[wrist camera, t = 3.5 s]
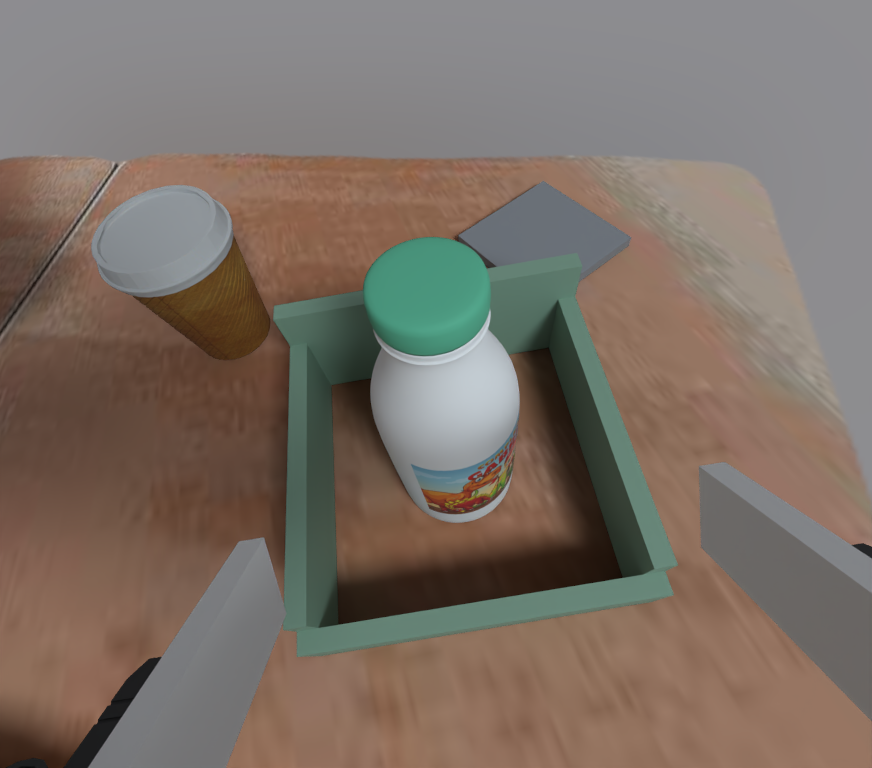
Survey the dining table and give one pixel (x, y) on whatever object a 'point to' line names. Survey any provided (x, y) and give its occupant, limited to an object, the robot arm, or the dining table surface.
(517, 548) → the dining table surface
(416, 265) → the milk bottle
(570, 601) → the green wooden frame
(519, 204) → the slate tile
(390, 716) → the dining table surface
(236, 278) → the disposable coffee cup
